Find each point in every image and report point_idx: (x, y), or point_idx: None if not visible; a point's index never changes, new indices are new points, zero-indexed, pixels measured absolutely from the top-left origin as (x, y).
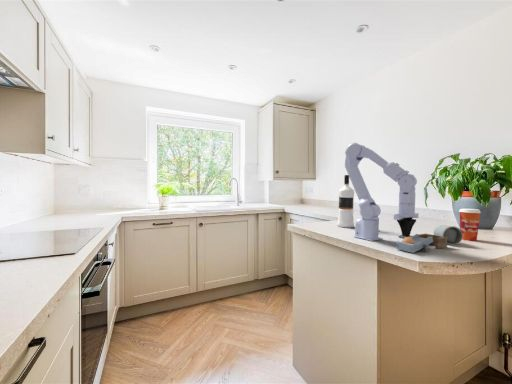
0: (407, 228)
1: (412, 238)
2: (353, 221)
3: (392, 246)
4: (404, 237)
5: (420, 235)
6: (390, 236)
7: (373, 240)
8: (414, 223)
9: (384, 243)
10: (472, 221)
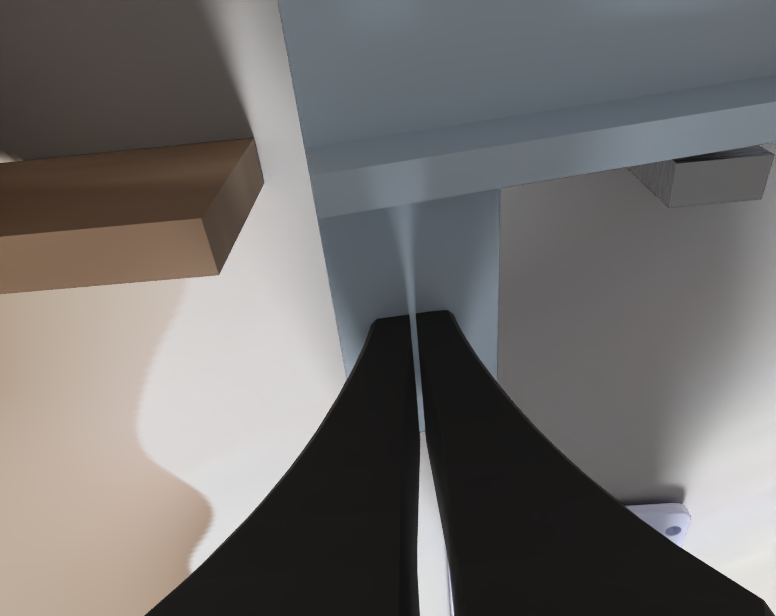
0: (530, 441)
1: (618, 113)
2: None
3: (772, 247)
4: (493, 324)
5: (124, 222)
6: (190, 568)
7: (654, 505)
8: (211, 561)
9: (660, 393)
10: None
